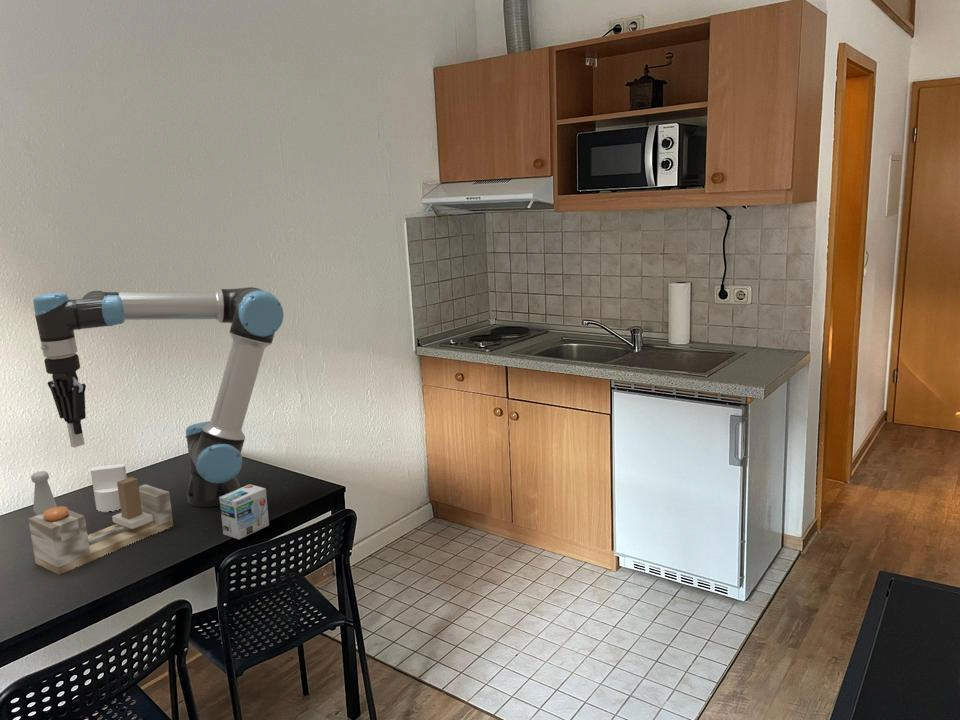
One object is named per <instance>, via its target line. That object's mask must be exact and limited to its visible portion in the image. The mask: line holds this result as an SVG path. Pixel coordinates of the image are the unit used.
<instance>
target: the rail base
mask: <svg viewBox="0 0 960 720" xmlns="http://www.w3.org/2000/svg"><path fill="white" fill-rule="evenodd" d="M138 486H139V485H138ZM139 493H140V500H141V508H142V512H145V513H148V514H151V515H152V516H153V521H151V522H149V523H146V524H144V525H141V526H139V527H136V528H134V529H131V528H128V527H125V526H123V525H120V524H117V523H115V524H112V525H111V526H108V527H106V528H102V529H99V530H97V531H95V532H93V533H90V534H88V529H87V522H86V516H85V515H83V514H81V513H78V512H75V511H72V510H70V509H68V515H67V516H66V517H65V518H63V519H61V520H58V521H55V522H49V521H48V520H45V519H44V515H43V514H40V515H34V516H32V517H28V518H27V520H28V525H29V531H30V537H31V543H32V548H33V554H34V562H35V564H36V565H38V566H40V567H42V568H45V569H46V570H48V571H51V572H52V573H55V574H57V575H58V576H60V575H62V574H64V573H68V572H69V570H70V571H71V570H73V569H77V568H79V567H81V566H83V564H84V565H86V564H88V563H90V561H91V562H93V561H95V560H98V559H100V558H102V557H104V555H105V556H107V555H109V554H111V552H112V553H113V552H116V551H119V550H121V549H123V548H122V547H124V548H126V547H128V546H130V545H129V544H131V545H133V544H135V543H137V542H136V541H138V542H140V541H142V540H145V539H147V538H149V537H151V536H150V535H152V536H154V535H157V534H159V533H161V532H163V531H165V529H166V530H169V529H170V527H171V528H172V527H174V520H173V512H172V502H171V496H170V491H167V490H164V489H161V488H158V487H155V486H152V485H149V484H146V483H145V484H142V485H140V486H139ZM158 532H159V533H158ZM153 534H154V535H153ZM148 536H149V537H148ZM146 537H147V538H146ZM144 538H145V539H144ZM141 539H142V540H141ZM139 540H140V541H139ZM134 542H135V543H134ZM132 543H133V544H132ZM127 545H128V546H127ZM125 546H126V547H125ZM120 548H121V549H120ZM118 549H119V550H118ZM108 553H109V554H108ZM106 554H107V555H106ZM99 557H100V558H99ZM97 558H98V559H97ZM92 560H93V561H92ZM85 563H86V564H85ZM76 567H77V568H76Z"/></svg>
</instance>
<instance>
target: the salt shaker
mask: <svg viewBox="0 0 960 720" xmlns="http://www.w3.org/2000/svg"><path fill="white" fill-rule="evenodd" d="M49 479H50V476H49V473H48V472H47V471H45V470H43V471H36V472H34V473H33V474H31V475H30V480H31V482H32V483H34V493H33V509H32V510H33V512H34V514H35V516H37V515H40V514H43V512H44V511H45V510H47V509H50V508H53V507H58V505H57V503H56V502H57V501H55V497H54V495H53V492H52V489H51V487H50V484H49V482H48V480H49Z"/></svg>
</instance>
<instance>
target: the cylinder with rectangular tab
mask: <svg viewBox="0 0 960 720" xmlns="http://www.w3.org/2000/svg"><path fill="white" fill-rule="evenodd" d="M90 474H91V475H90V476H91V481H92V488H93V493H94V501H95V507H96V511H97V510H98V512H100V511H101V512H100V513H110V512H109V511H112V512H116V511H115V510H117V511H120V510H119V509H121V507H120V500H119V493H118V486H117V482H118V481H121V480H124V479H127V478H128V477H127V470H126V464H125V462H124V463H116V464H108V465H101V466H93V467H91V469H90Z"/></svg>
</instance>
